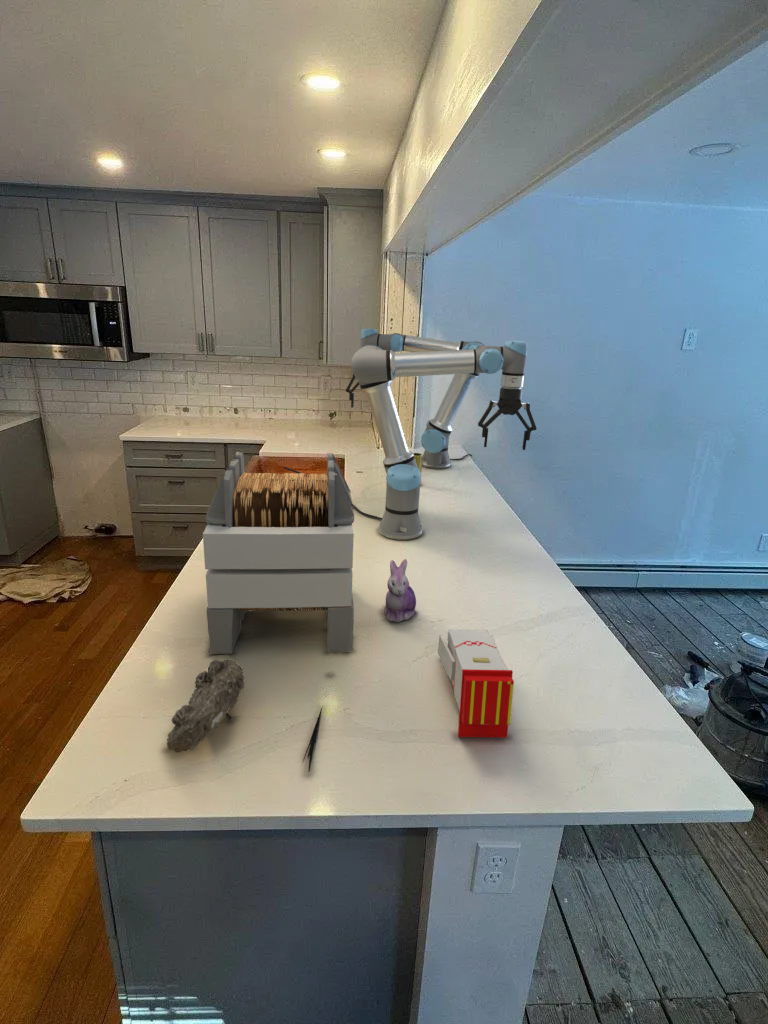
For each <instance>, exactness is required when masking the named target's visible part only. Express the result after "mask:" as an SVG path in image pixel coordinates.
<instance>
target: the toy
mask: <svg viewBox="0 0 768 1024" xmlns="http://www.w3.org/2000/svg"><path fill="white" fill-rule="evenodd" d="M446 640H447V643H446V641H445V639H444V636H443V635H442V634H439V637H438V646H437V656H438V657H439V659H440V661H441V663H442V666H443V668H444V670H445V672H446V674H447V677H448V679H449V681H450V684H451V687H452V690H453V693H454V697H455V701H456V705H457V708H458V711H459V714H458V715H459V716H458V730H457V731H458V732H457V737H458V738H508V731H509V726H510V725H511V717H512V707H513V697H514V696H513V695H514V684H515V680H514V679H513V673H514V671H513V670H512V669H508V667H507V665H506V662H505V661H504V659H503V658H502V655H501V653H500V651H499V649H498V647H497V643H496V639H495V637H494V635H493V634H491V632H490V631H489V629H467V628H466V629H465V628H463V629H461V628H460V629H459V628H448V630H447V639H446Z"/></svg>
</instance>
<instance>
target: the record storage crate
mask: <svg viewBox="0 0 768 1024" xmlns="http://www.w3.org/2000/svg"><path fill="white" fill-rule="evenodd" d="M244 455H245V454H244V451H242V452H241V451H236V452H235V454H234V456H233V458H232V459H230V463H229V465H228V467H227V469H226V470H224V473H223V475H222V478H221V479H220V482H219V484H218V487H217V489H216V491H215V494H214V495H213V497H212V500H211V502H210V505H209V507H208V509H207V511H206V515H205V523H206V524H207V525H206V527H205V529H204V531H203V533H202V543H203V558H204V569H205V570H206V573H205V584H206V587H205V588H206V598H207V599H206V601H207V607H206V623H207V634H208V641H209V642H208V643H209V650H208V653H209V655H216V654H217V655H218V654H221V655H222V654H223V655H226V654H227V655H228V654H230V655H231V654H232V653H233V650H234V648H235V647H236V643H237V641H238V638H239V636H240V634H241V630H242V626H241V625H242V623H241V622H243V621H244V618H245V615H246V612H272V611H273V612H279V611H280V612H284V611H286V612H288V611H289V612H291V611H292V612H293V611H294V612H295V611H303V612H304V611H322V610H323V611H326V636H327V637H326V641H327V645H326V646H327V652H329V653H330V652H332V653H333V652H343V653H349V652H351V651H352V650H354V617H355V616H354V614H355V607H354V598H353V575H354V573H353V566H354V563H353V562H354V537H355V536H354V535H355V532H354V527H353V524H354V522H355V511H354V507H353V505H354V504H353V500H352V495H351V489H350V487H349V485H348V483H347V480H346V479H345V476H344V474H343V472H342V470H341V467H340V465H339V463H338V461H337V459H336V457H335V455H334V453H333V452H327V453H326V456H327V457H326V468H327V469H326V473H320V474H318V473H307V474H306V473H303V472H301V473H296V472H292V473H291V472H290V473H288V472H283V473H276V472H273V473H271V472H263V473H262V472H259V473H258V472H253V473H252V472H245V468H246V467H245V456H244ZM306 475H307V477H306ZM308 475H309V477H308ZM352 504H353V505H352Z"/></svg>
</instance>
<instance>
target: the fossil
mask: <svg viewBox="0 0 768 1024" xmlns="http://www.w3.org/2000/svg"><path fill="white" fill-rule="evenodd" d="M243 670H244V669H243V667H242V665H240V664H237V662H236V661H235V660H234V659H232V658H231V659H227V658H226V659H224V660H223V661H222V660H217V659H212V660H211V661H210V663H209V665H208V666H207V671H201V672H199V673H198V674H197V675H196V676H195V680H194V684H195V685H194V687H195V689H194V690H193V693H192V694H191V697H190V698H189V700H188V704H184V705H182V706H181V707H180V709H177V710H176V711H175V713H174V715H173V716H172V718H171V723H172V724H173V727H172V730H171V731H170V732H168V734H167V738H166V741H167V742H166V745H167V749H168V750H169V751H173V752H174V753H176V754H178V753H182V752H188V751H189V752H192V751H193V750H195V748H196V747H197V746H199V744H200V743H201V742H203V741H204V740H205V739H206V738H207V737H208V736H209V735H210V734H211V733H212V732H214V730H215V729H217V727H218V726H219V724H220V722H221V721H222V720H223V719H224V718H225V716H226V717H227V719H229V720H233V717H232V715H230V714H229V710H230V709H231V708H234V706H235V704H236V703H237V702H238V699H239V697H240V695H241V693H242V691H243V690H245V689H244V688H245V675H244V671H243Z"/></svg>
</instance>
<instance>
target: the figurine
mask: <svg viewBox="0 0 768 1024" xmlns="http://www.w3.org/2000/svg"><path fill="white" fill-rule="evenodd" d="M407 567H408V559H406V558H404V559H403V560H402V561H401V563H400V565H399V566H398V565H397V563H396V562H395V561H394V560H393V559H391V560H390V561H389V570H390V576H389V578H388V579H387V589H388V591H387V592H386V594H385V595H386V596H385V607H384V615H385V616H386V620H387V621H391V622H395V623H400V622H402V621H406V620H409V619H410V618H411V617H413V616H414V615H415V610H416V606H417V597H416V593H415V591H414V590H413V587H411V586H410V582H409V579H408V577H407V574H406V571H407Z"/></svg>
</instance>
